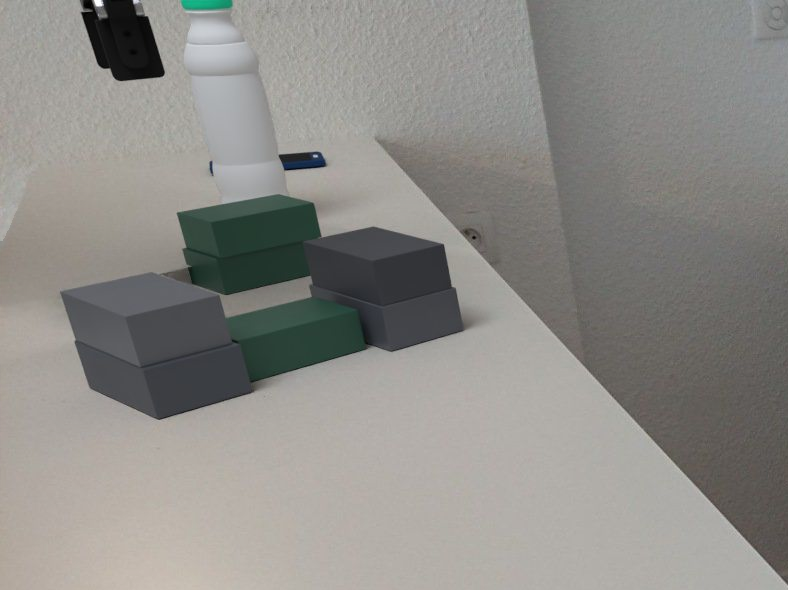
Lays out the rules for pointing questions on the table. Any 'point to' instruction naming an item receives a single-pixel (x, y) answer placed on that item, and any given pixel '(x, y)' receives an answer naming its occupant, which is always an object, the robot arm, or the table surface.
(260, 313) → the green block
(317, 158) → the cell phone
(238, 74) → the water bottle
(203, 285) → the green stack
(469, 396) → the table surface
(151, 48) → the robot arm
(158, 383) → the grey blocks
